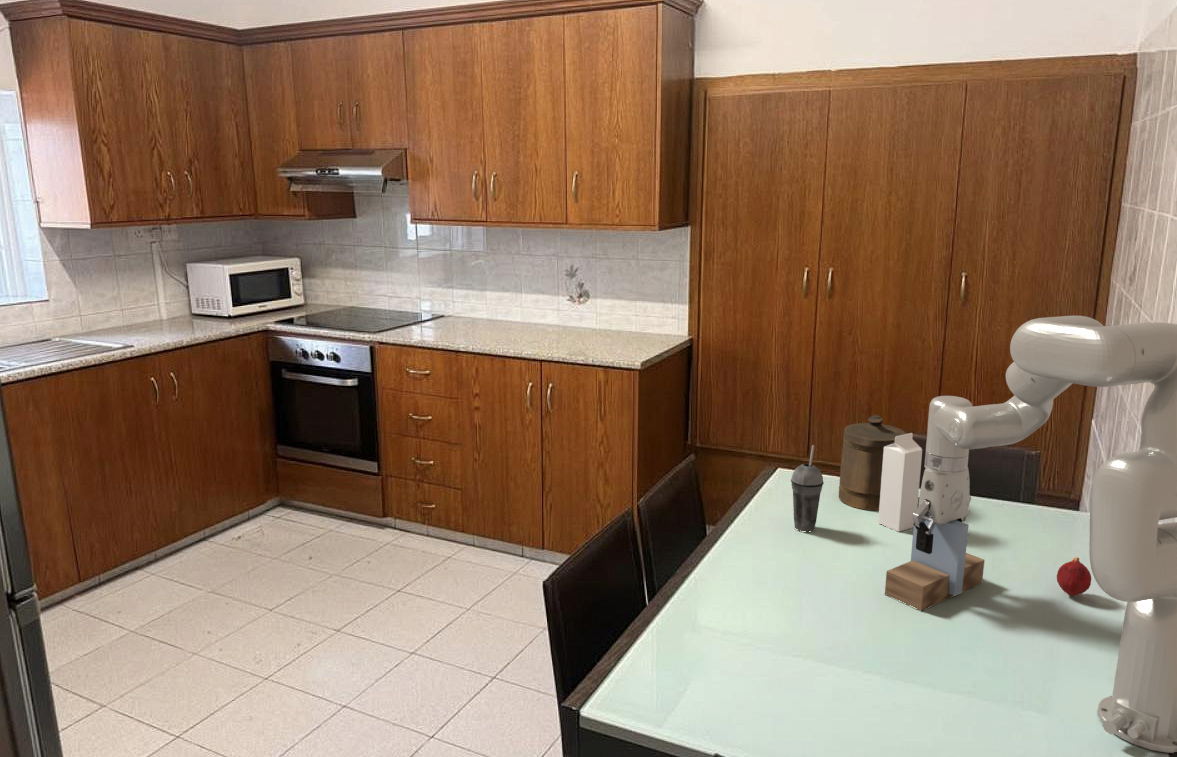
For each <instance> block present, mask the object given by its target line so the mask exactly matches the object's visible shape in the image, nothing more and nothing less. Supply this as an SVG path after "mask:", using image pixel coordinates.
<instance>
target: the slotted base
mask: <svg viewBox="0 0 1177 757" xmlns="http://www.w3.org/2000/svg"><path fill="white" fill-rule="evenodd" d="M984 568H985V559H984V558H981V557H979V556H975V555H973V554H970V553H968V552H966V557H965V566H964V576H963V586H962V593H964V592H966V591H969V589H972V588H975V587H977V586H978V585H981V584H982V583H983V578H984V577H983V576H984ZM885 576H886V577H885V586H884V588H885V589H884V595H885V594H887V595H889V596H891V597H893V598H895V599H897V600H900V601H902V602H904V603H906V604H908V605H911V606H913V607H915V608H917V609H919V610H923V609H925V610H927V609H929V608H931V607H934V606H936V605H937V603H938V604H940V603H942V602H944V601H946V600H949V599H950V598H952V597H954V596H953V595H951V594H949V593H948V586H949V576H950V575H948V574H946V573H943V572H941V571H938V570H936V569H933V568H931V567H928V566H926V565H924V564H921V563H919V562H916V561H914V560H912V561H911V560H910V561H908V562H905V563H902V564H900V565H897V566H895V567H894V568H890V569H889V570H886V574H885ZM889 596H888V597H889ZM891 597H890V598H891ZM893 598H892V599H893ZM895 599H894V600H895ZM897 600H896V601H897ZM902 602H901V603H902ZM939 602H940V603H939ZM904 603H903V604H904ZM906 604H905V605H906ZM935 604H936V605H935ZM908 605H907V606H908ZM930 606H931V607H930ZM913 607H912V608H913ZM928 607H929V608H928ZM915 608H914V609H915ZM926 608H927V609H926ZM917 609H916V610H917ZM919 610H918V611H919ZM923 611H924V610H923Z"/></svg>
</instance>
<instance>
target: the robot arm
mask: <svg viewBox="0 0 1177 757" xmlns="http://www.w3.org/2000/svg"><path fill="white" fill-rule="evenodd" d="M1009 350H1010V355H1011V358H1012V361H1013V362H1012V363H1011V364H1010V365H1009V366H1008V367H1007V369H1006V371H1005V381H1006V385H1007V387H1008V389H1009V390H1010V392H1011V393H1012V394H1013V396H1012V397H1011V398H1009V399H1007V401H1005V402H1003V403H997V404H996V403H994V404H993V403H992V404H984V405H976V406H973V404H972V402H971V401H970V400H969V399H967V398H964V397H960V396H955V395H940V396H935V397H933V398H932V399H931V401H930V402H929V405H928V406H929V409H928V418H927V419H928V420H927V434H926V443H925V444H926V445H925V455H924V456H925V457H924V468H925V469H924V471H923V476H922V480H921V486H920V489H919V496H918V506H917V509H916V510H915V511H914V512H913V514H912V518H913V521H914V526H915V530H916V531H917V538H916V549H917V550H919V551H922V552H925V553H927V554H931V553H932V547H933V535H934V534H931V533H932V531H933V529H934V527H935V525H936V523H937V524H940V525H942V524H946V523H948V522H951V521H954V520H957V521H960V522H962V523H965V522H966V521H967V520H966V519H967V517H966V516H967V514H968V513H969V511H970V510H969V509H970V508H969V507H970V503H971V500H972V495H970V486H971V484H970V483H971V482H970V471H969V467H968V466H969V465H968V464H969V455H970V454H969V453H970V450H975V449H976V450H978V449H985V448H989V447H991V448H992V447H999V446H1008V445H1009V446H1010V445H1014V444H1016V443H1018V442H1021V441H1023V440H1025V439H1027V438H1028V437H1029V436H1030V435H1032V434H1033V433H1034V432H1036V431H1037V430H1038V429H1039V428H1041V427H1042V426H1044V425H1045V423H1046V422H1047V421H1048V419H1049V418H1050V416H1051V413H1052V411H1053V406H1054V399H1056V398H1057V397H1058V396H1059V395H1061V393H1063V392H1065V391H1066V390H1067V389H1068V388H1069V387H1070V386H1072V385H1073V384H1075V385H1080V386H1088V387H1094V388H1095V387H1097V388H1098V387H1099V388H1100V387H1102V388H1107V387H1109V388H1110V387H1117V386H1118V387H1119V386H1127V385H1138V384H1144V383H1150V384H1152V385H1153V387H1154V388H1153V390H1152V392H1151V393H1150V395H1149V397H1148V399H1147V401H1146V403H1145V405H1144V408H1143V410H1142V414H1141V420H1140V422H1141V424H1140V425H1141V426H1140V428H1141V430H1140V431H1141V433H1140V444H1139V449H1138V451H1134V452H1128V453H1122V454H1121V453H1120V454H1117V455H1115V456H1112V457H1110V458H1108V459H1107V460H1105V461H1104V462H1103V463H1102V464H1100V466H1099V467H1098V468H1097V470H1096V471H1095V474H1094V476H1093V479H1092V482H1091V485H1090V493H1089V494H1090V495H1089V496H1090V497H1089V500H1090V501H1089V543H1088V544H1089V550H1088V551H1089V552H1088V553H1089V563H1090V564H1089V565H1090V570H1091V572H1092V575H1093V577H1094V580H1095V582H1096V583H1097V585H1098V586H1099V587H1100V589H1101V590H1102V592H1104V593H1105V594H1106V595H1108V596H1109V597H1110V598H1112V599H1114V600H1117V601H1121V602H1126V606H1125V611H1124V617H1123V623H1122V627H1121V628H1122V629H1121V634H1120V635H1121V637H1120V643H1119V650H1118V655H1117V662H1116V668H1115V670H1116V671H1115V676H1114V682H1113V690H1112V695H1109V696H1107V697H1104V698H1103V699H1101V700H1100V702H1099V703H1098V707H1097V716H1098V718H1099V721H1101V723H1102V728H1103V730H1104V731H1105V732H1106V733H1108V734H1109V735H1115V736H1117V737H1119V738H1120V739H1121V740H1124V741H1126V742H1128V743H1130V744H1132V745H1135V746H1138V747H1141V748H1144V749H1147V750H1151V751H1155V752H1159V753H1160V752H1161V753H1166V754H1167V753H1168V754H1175V753H1174V752H1177V522H1175V521H1173V522H1166V523H1159V521H1163V520H1169V519H1170V520H1171V519H1174V518H1175V519H1176V518H1177V324H1176V323H1171V322H1169V323H1168V322H1156V321H1155V322H1138V323H1132V324H1131V323H1129V324H1119V325H1108V326H1107V325H1106V326H1104V324H1102V323H1101V322H1099V320H1096V319H1095V318H1092V317H1089V316H1084V315H1064V316H1063V315H1062V316H1048V317H1038V318H1034V319H1030V320H1028V321H1026V322H1024V323H1023V324H1021V325H1020V326H1019V327H1018V328H1017V329H1016V330H1015V332H1014V334H1013V336H1012V338H1011V341H1010V345H1009ZM930 516H932V518H931V517H930ZM925 521H928V522H930V523H929V525H928V527H927V526H926V524H925Z"/></svg>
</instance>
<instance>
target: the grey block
mask: <svg viewBox="0 0 1177 757" xmlns="http://www.w3.org/2000/svg"><path fill="white" fill-rule="evenodd" d="M930 517H931V518H932V516H930ZM929 523H930V522H928V521H925V524H926V526H927V527H928V525H929ZM912 529H913V530H912V542H911V554H910V561H912V560H914V561H916V562H919V563H921V564H924V565H926V566H928V567H931V568H933V569H936V570H938V571H941V572H943V573H946V574H948V575H950V576H949V586H948V593H949V594H951V595H953V597H956V596H957V595H959V594H962V593H963V592H962V586H963V576H964V566H965V557H966V553H967V544H968V536H969V524H967V523H965V522H963V523H962V522H960V521H957V520H954V521H951V522H948V523H946V524H942V525H940V524H937V523H936V525H935V527H934V529H933V531H932V533H931V534H934V535H933V547H932V553H931V554H927V553H925V552H922V551H919V550H917V549H916V538H917V531H916V530H915V526H914V527H913V528H912Z"/></svg>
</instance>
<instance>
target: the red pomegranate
mask: <svg viewBox="0 0 1177 757" xmlns="http://www.w3.org/2000/svg"><path fill="white" fill-rule="evenodd" d="M1056 582H1057V583H1058V586H1059V587H1060V588H1061V590H1062V591H1063V592H1064V593H1066V594H1067V595H1068V596H1069V597H1076V596H1080V595H1082V594H1084V593H1085V592H1087V591H1088V590H1089V588H1091V586H1092V575H1091V572H1090V569H1089V568H1088V567H1087V566H1085V565H1084V564H1083V563H1082V562H1080V558H1079V557H1078V556H1074V557H1073V558H1072V560H1071V561H1068V562H1065V563H1064V564H1062V565H1061V566H1060V567H1058V570H1057V574H1056Z"/></svg>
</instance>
